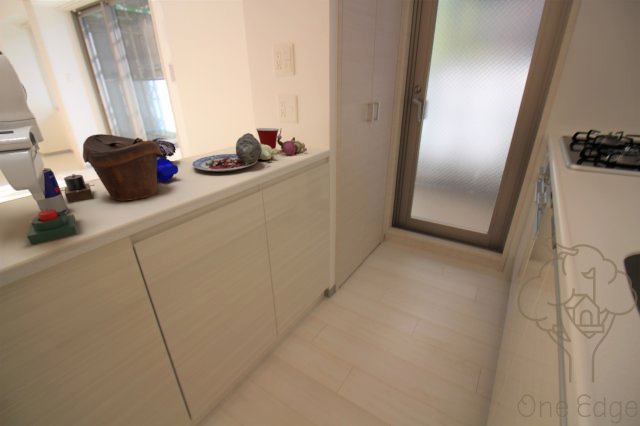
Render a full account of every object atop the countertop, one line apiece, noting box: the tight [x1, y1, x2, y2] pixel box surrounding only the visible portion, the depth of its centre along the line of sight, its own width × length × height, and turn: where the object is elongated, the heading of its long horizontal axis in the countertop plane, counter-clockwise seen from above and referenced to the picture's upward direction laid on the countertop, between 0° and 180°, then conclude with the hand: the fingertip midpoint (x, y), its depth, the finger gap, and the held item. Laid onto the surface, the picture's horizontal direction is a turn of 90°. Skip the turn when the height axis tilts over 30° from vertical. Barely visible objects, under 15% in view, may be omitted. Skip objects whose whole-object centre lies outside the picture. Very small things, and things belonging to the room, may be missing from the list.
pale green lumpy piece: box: [257, 144, 278, 161], centre depth 129 cm, size 13×7×15 cm
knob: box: [63, 173, 87, 190], centre depth 87 cm, size 4×4×4 cm
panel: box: [60, 183, 95, 204], centre depth 88 cm, size 9×9×3 cm
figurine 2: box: [276, 136, 296, 152], centre depth 145 cm, size 8×8×6 cm
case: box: [82, 133, 164, 201], centre depth 87 cm, size 18×20×18 cm
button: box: [37, 209, 58, 221], centre depth 66 cm, size 3×3×2 cm
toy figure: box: [157, 158, 179, 183], centre depth 103 cm, size 9×10×15 cm
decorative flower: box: [151, 137, 177, 159], centre depth 120 cm, size 15×12×15 cm
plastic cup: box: [255, 127, 280, 149], centre depth 138 cm, size 11×11×12 cm
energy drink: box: [35, 167, 69, 214], centre depth 75 cm, size 5×5×12 cm
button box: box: [26, 212, 78, 246], centre depth 67 cm, size 8×8×4 cm
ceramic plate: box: [191, 153, 258, 173], centre depth 119 cm, size 26×26×3 cm
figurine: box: [277, 129, 308, 157], centre depth 138 cm, size 11×13×15 cm
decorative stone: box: [235, 132, 262, 163], centre depth 118 cm, size 22×10×10 cm
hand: (40, 198), depth 64 cm, fingers closed
